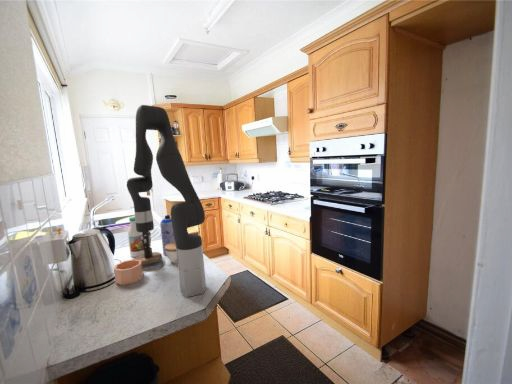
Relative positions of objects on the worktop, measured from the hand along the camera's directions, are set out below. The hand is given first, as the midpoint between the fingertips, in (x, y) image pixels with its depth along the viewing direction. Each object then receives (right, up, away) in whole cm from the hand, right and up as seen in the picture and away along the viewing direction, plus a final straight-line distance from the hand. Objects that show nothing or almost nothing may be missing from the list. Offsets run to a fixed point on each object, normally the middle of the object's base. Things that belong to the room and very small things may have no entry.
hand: (148, 255), depth 120 cm
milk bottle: (-11, -3, +14) cm, 18 cm away
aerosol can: (+6, -2, +13) cm, 15 cm away
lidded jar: (+13, -3, +3) cm, 14 cm away
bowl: (-2, -6, -13) cm, 15 cm away
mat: (0, -4, +1) cm, 4 cm away
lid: (0, -2, 0) cm, 2 cm away
